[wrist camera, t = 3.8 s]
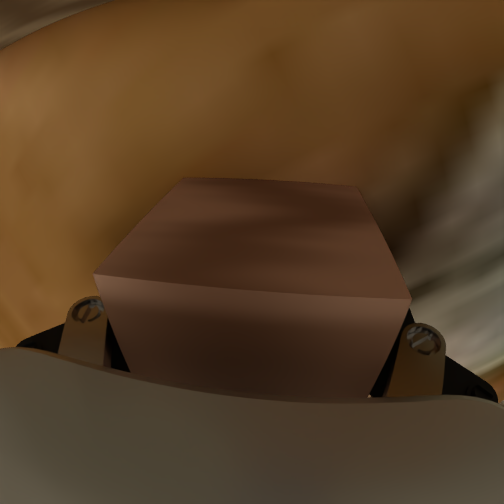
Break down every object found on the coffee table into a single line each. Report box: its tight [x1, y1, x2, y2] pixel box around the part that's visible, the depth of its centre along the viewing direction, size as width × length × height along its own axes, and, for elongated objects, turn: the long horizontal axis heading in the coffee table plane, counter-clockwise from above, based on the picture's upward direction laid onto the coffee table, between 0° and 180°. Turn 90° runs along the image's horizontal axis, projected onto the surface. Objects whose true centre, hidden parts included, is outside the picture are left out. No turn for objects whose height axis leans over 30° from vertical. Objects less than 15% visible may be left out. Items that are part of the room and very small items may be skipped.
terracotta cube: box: [93, 178, 412, 398], centre depth 9 cm, size 6×6×6 cm
